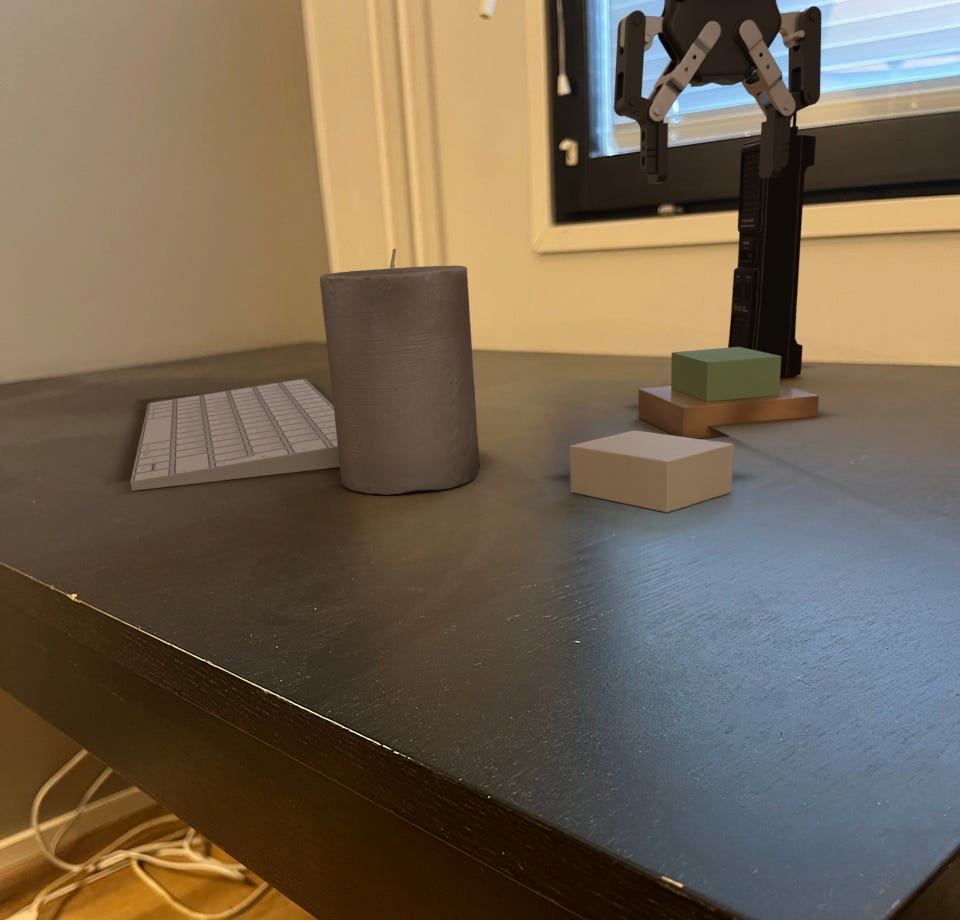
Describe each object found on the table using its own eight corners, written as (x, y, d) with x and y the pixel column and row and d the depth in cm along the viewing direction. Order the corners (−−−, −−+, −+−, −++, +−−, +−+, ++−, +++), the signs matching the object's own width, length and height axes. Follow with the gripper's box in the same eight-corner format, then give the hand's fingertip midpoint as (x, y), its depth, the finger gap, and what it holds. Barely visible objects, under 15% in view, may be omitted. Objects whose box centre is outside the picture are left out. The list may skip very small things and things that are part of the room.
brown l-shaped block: (757, 406, 87) (759, 378, 86) (817, 427, 77) (819, 395, 76) (638, 417, 86) (638, 388, 85) (682, 440, 76) (683, 407, 75)
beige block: (634, 474, 66) (634, 430, 65) (732, 492, 60) (733, 443, 59) (570, 492, 63) (568, 445, 61) (667, 513, 57) (667, 461, 56)
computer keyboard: (149, 408, 109) (146, 392, 108) (317, 392, 113) (315, 377, 112) (114, 492, 70) (110, 469, 70) (372, 464, 74) (370, 442, 74)
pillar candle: (401, 459, 75) (383, 248, 69) (507, 470, 70) (496, 242, 64) (311, 488, 68) (282, 255, 62) (421, 502, 62) (400, 248, 57)
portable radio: (720, 372, 109) (728, 118, 99) (773, 368, 109) (786, 114, 100) (745, 381, 101) (757, 108, 92) (802, 377, 102) (819, 104, 92)
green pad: (737, 382, 84) (739, 346, 83) (779, 395, 77) (781, 356, 76) (670, 388, 84) (671, 352, 82) (706, 402, 76) (707, 362, 75)
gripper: (637, -109, 60) (635, 182, 66) (853, -111, 62) (832, 171, 68) (602, -72, 67) (603, 188, 73) (797, -75, 69) (783, 179, 75)
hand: (714, 180), depth 71 cm, fingers open, 8 cm apart
